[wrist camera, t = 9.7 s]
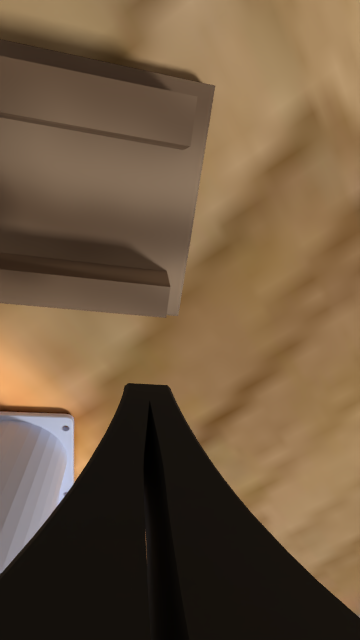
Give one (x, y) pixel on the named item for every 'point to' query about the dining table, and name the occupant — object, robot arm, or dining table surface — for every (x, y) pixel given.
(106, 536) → the robot arm
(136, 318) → the dining table surface
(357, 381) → the dining table surface
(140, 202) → the taupe railed channel
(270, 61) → the dining table surface
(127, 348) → the dining table surface
